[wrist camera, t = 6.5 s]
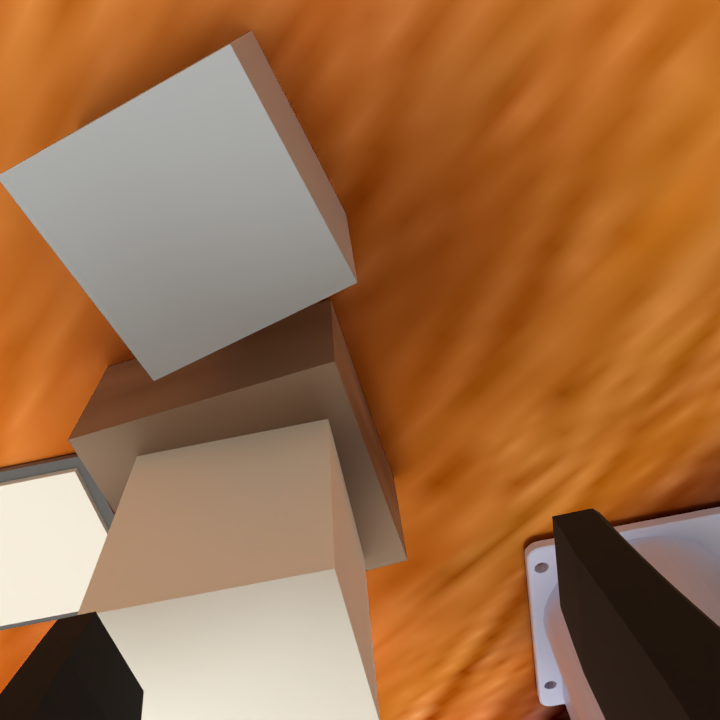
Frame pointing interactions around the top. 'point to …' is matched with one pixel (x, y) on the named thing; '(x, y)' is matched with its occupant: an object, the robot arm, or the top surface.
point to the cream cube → (240, 582)
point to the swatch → (48, 539)
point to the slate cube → (192, 210)
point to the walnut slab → (250, 415)
